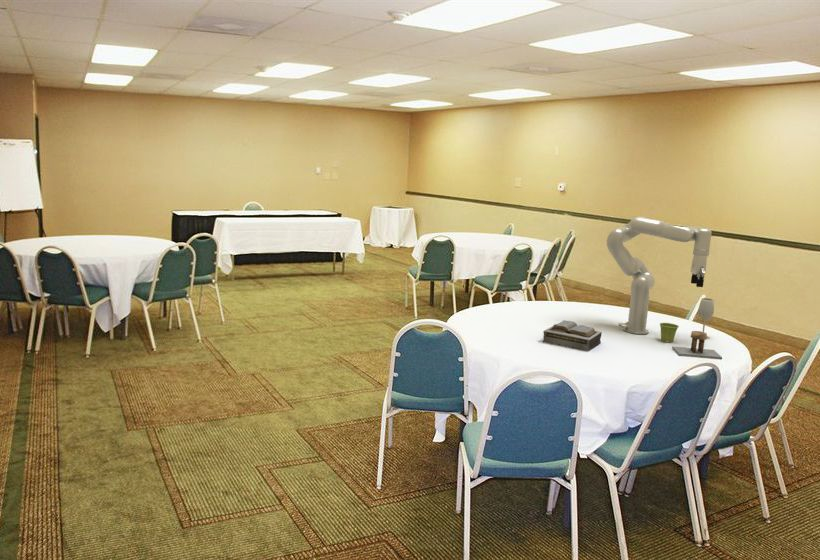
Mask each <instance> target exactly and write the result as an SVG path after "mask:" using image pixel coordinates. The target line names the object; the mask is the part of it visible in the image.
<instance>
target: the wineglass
mask: <svg viewBox="0 0 820 560" xmlns="http://www.w3.org/2000/svg"><path fill="white" fill-rule="evenodd" d="M698 305H699V306H698V311H697V312H698V316H699V317H700V318H701V319H702V321H703V325H702V332H705V327H706V322H707V321H708V320H710V319H711V318H712V316H713V315H714V312H715V301H714V299H712V298H705V297H703V298H701V300H700V302H699V304H698ZM709 339H710V336H708V335H707V337H706V340H709Z"/></svg>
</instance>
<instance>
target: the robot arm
mask: <svg viewBox="0 0 820 560" xmlns="http://www.w3.org/2000/svg"><path fill="white" fill-rule="evenodd" d="M641 234H642V235H643V234H644V235H649V236H653V237H658V238H662V239H666V240H670V241H674V242H675V241H676V242H680V243H688V242H692V241H693V243H694V244H693V250H692V255H693V256H692V260H691V265H690V273H691V279H690V283H691V284H694V285H696V286H695V287H697V288H703V287H704V281H705V275H706V271H707V261H708V260H707V259H708V258H707V257H709V256H710V249H711V241H712V230H711V229H710V228H702V227H701V228H697V227H693V226H685V227H684V226H683V227H681V226H676V225H672V224H669V223H666V222H665V221H663V220H659V219H654V218H653V219H652V218H649V217H648V218H647V217H646V216H642V215H640V216H635V217H633V218H631V220H630V221H629V222H628V223H627V224H624V225H623V226H621V227H617V228H616V227H615V228H614V229H612V230H611V231H610V232H609V233H608V235H607V239H606V247H607V249H608V251H609V253H610V255H611V256H612V258H613V259H614V260H615V262H616V263H617V265H618V267H619V268H620V269H621V271H622V273H623V274H624V275H626V276H627V277H632V281H631V285H630V301H629V302H630V303H629V311H628V312H629V313H628V320H627V321H626V322H625V323H623V322H618V327H621V328H623V330H624V331H625V332H626V333H630V334H633V335H635V334H636V335H648V334H649V330H648V329H647V323H648V322H647V319H648V315H649V314H648V313H649V302H650V290H652V289H653V287H655V283H656V282H655V277H654V276H653V275H652V273H651V272H650V270H649V269H648V267H647V266H646V264H645V263H644V262H643V260H642V259H640V258H639V257H636V256H635V257H633V255H632V254H631V253H630V251H629V250H628V249H627V247H626V246H625V245H624V243H626V242H628V241H630V240H632V239H633V238H636V237H637V236H638V235H641Z"/></svg>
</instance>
